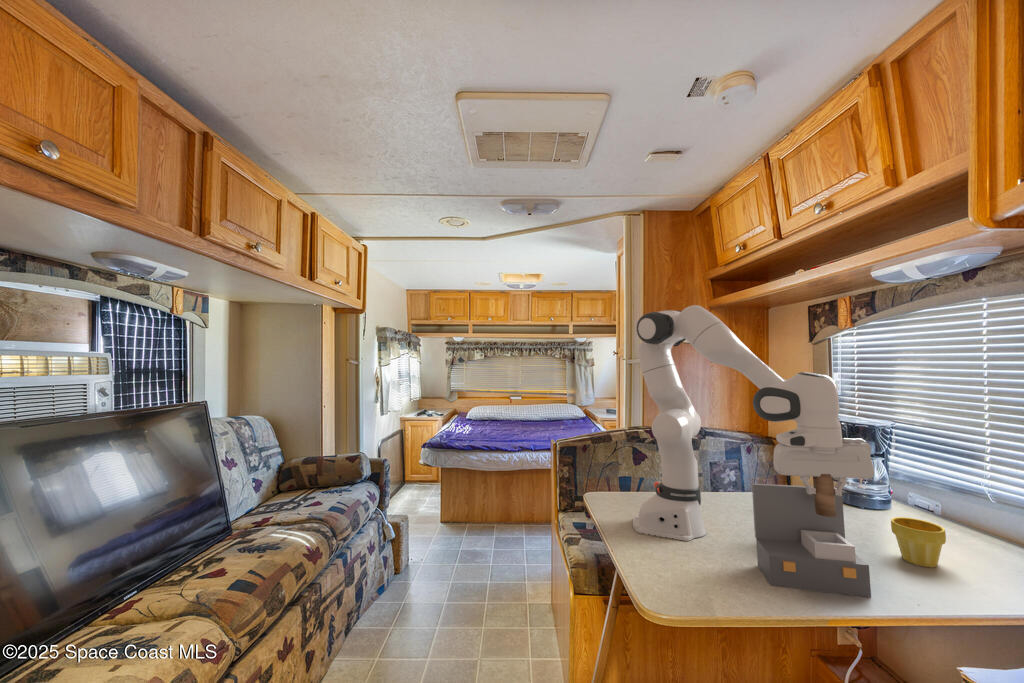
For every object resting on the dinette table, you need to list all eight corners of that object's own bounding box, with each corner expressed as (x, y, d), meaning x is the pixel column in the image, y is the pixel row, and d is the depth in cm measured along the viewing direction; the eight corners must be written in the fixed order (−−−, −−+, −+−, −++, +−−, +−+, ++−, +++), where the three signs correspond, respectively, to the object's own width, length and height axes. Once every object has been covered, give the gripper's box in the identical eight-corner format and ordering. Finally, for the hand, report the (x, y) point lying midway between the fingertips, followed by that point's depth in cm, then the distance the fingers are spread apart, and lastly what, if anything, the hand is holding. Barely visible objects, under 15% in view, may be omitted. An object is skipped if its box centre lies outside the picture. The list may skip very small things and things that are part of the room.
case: (771, 586, 96) (766, 496, 97) (756, 563, 107) (751, 483, 109) (872, 598, 90) (865, 503, 92) (845, 572, 102) (839, 488, 103)
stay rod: (812, 510, 101) (809, 470, 102) (831, 511, 100) (828, 470, 100) (820, 516, 97) (816, 474, 98) (839, 517, 96) (835, 474, 97)
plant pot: (960, 573, 101) (956, 533, 101) (909, 568, 103) (906, 529, 104) (930, 555, 111) (926, 518, 111) (884, 551, 113) (881, 515, 114)
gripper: (862, 436, 100) (867, 493, 99) (769, 435, 106) (773, 488, 104) (877, 440, 94) (883, 501, 93) (777, 438, 99) (782, 496, 98)
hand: (824, 494), depth 99 cm, fingers closed on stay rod, 4 cm apart
